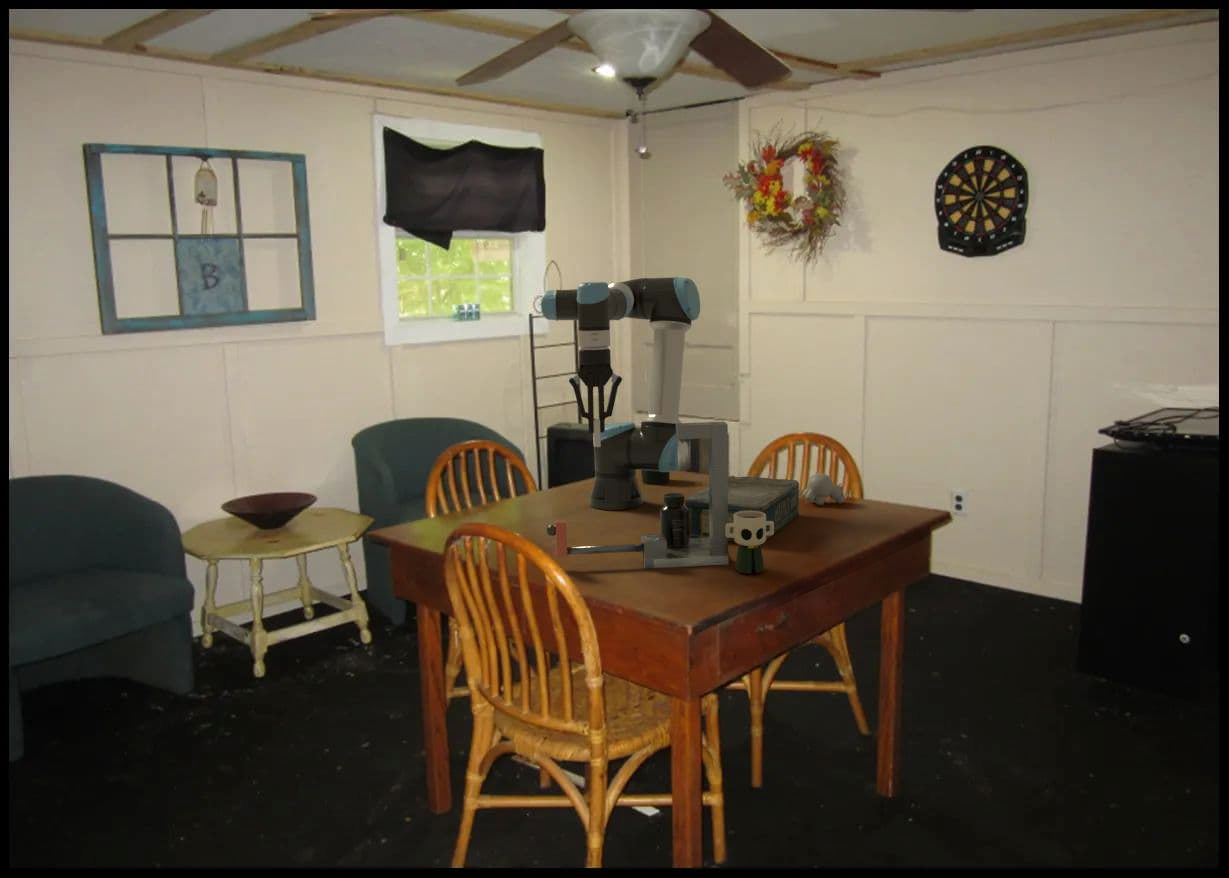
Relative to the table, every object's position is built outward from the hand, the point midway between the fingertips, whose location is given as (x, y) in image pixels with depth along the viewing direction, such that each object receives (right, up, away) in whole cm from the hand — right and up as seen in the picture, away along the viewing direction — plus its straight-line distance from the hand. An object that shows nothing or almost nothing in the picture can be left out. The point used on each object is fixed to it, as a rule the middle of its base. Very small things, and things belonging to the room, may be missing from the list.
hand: (597, 445), depth 240 cm
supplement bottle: (+18, -23, -5) cm, 30 cm away
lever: (+1, -24, -15) cm, 29 cm away
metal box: (+38, -21, +18) cm, 47 cm away
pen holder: (+17, -12, +72) cm, 75 cm away
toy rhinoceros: (+63, -17, +39) cm, 76 cm away
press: (+21, -26, -8) cm, 34 cm away
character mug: (+34, -28, -20) cm, 48 cm away
